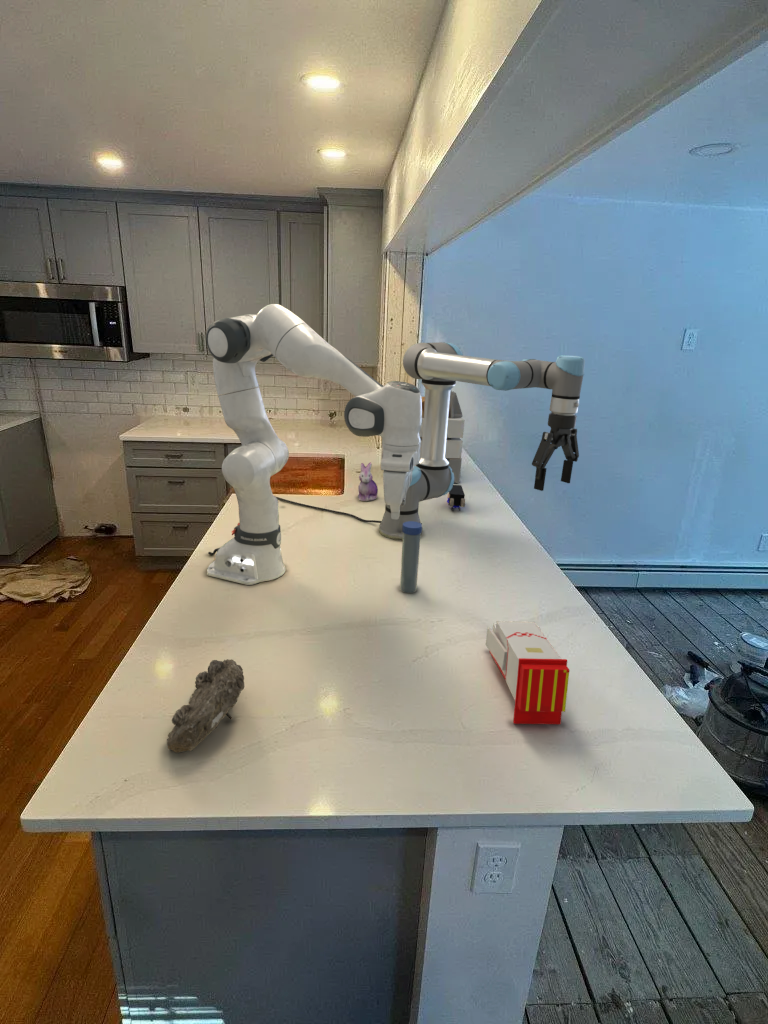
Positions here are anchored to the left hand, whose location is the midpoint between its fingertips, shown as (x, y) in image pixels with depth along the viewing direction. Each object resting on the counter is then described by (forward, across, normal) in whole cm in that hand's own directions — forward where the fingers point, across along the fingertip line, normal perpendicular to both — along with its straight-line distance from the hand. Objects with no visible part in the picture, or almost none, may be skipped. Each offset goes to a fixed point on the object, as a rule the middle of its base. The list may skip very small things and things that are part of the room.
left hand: (398, 511), depth 134 cm
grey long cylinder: (+30, -18, +1) cm, 35 cm away
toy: (+30, +18, +30) cm, 46 cm away
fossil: (+29, +43, -28) cm, 59 cm away
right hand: (+2, -39, +40) cm, 56 cm away
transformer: (+29, -139, -9) cm, 143 cm away
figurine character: (+30, -94, +10) cm, 99 cm away
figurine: (+29, -94, -26) cm, 102 cm away
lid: (+10, -18, +2) cm, 21 cm away
